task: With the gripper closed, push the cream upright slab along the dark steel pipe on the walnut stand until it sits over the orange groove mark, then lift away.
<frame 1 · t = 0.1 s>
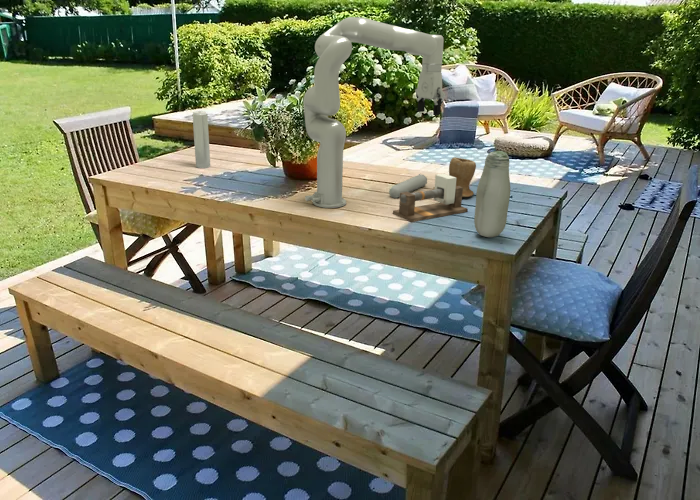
hand: (428, 113, 242), 31 cm above the table, tool pointing down, fingers open, 9 cm apart
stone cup: (455, 194, 247), on the table
grey upright post: (203, 167, 281), on the table
cream upright slab: (444, 188, 223), point 8 cm above the table, slide at 0.0 cm
glass bottle: (488, 236, 201), on the table
pipe stand: (430, 212, 223), on the table
tube: (407, 192, 249), on the table
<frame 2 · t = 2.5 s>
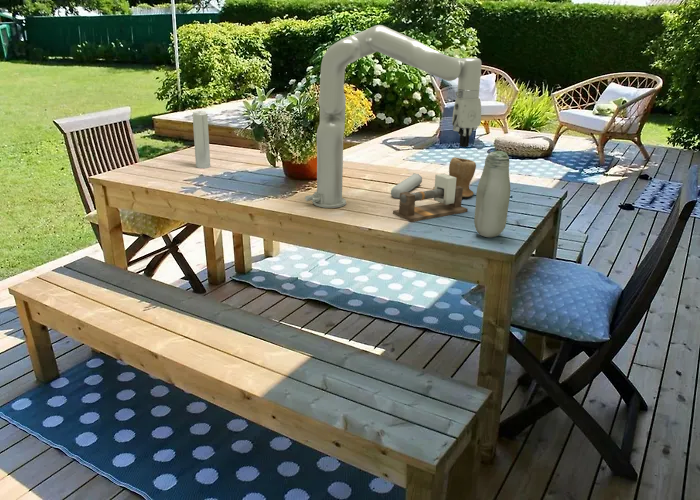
hand: (463, 146, 221), 23 cm above the table, tool pointing down, fingers closed
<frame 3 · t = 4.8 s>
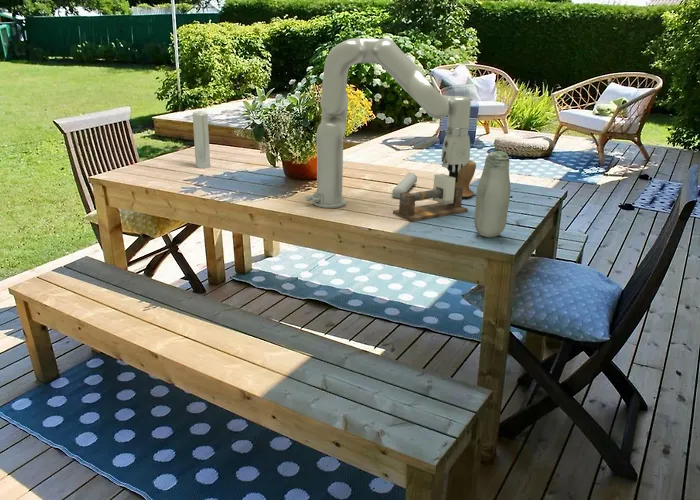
hand: (452, 181, 224), 10 cm above the table, tool pointing down, fingers closed
cream upright slab: (443, 189, 223), point 8 cm above the table, slide at 0.5 cm, touching gripper
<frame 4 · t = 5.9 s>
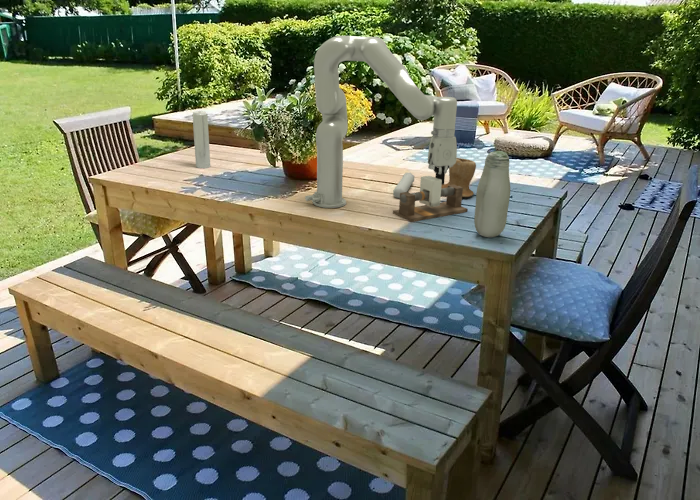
hand: (439, 183, 221), 10 cm above the table, tool pointing down, fingers closed
cream upright slab: (430, 191, 219), point 8 cm above the table, slide at 6.8 cm, touching gripper
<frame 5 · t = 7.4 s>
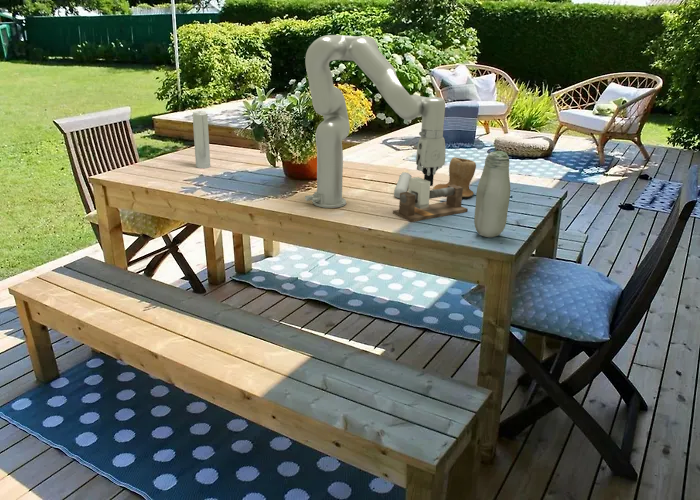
hand: (428, 185, 218), 11 cm above the table, tool pointing down, fingers closed
cream upright slab: (418, 192, 217), point 8 cm above the table, slide at 12.0 cm, touching gripper
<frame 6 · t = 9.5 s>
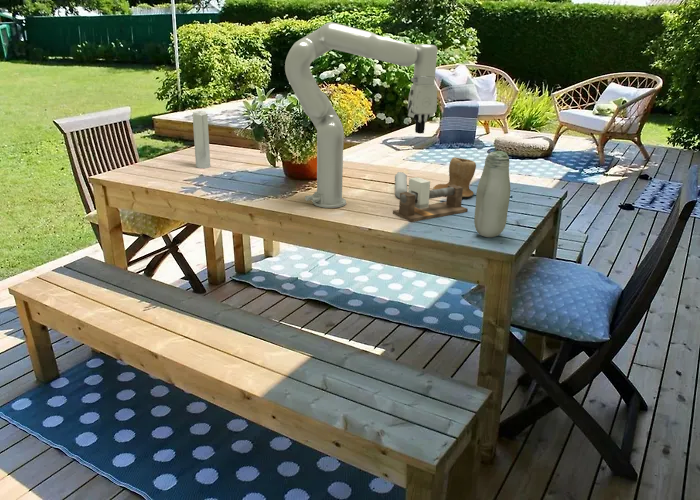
hand: (419, 132, 222), 27 cm above the table, tool pointing down, fingers closed
cream upright slab: (418, 192, 217), point 8 cm above the table, slide at 12.1 cm
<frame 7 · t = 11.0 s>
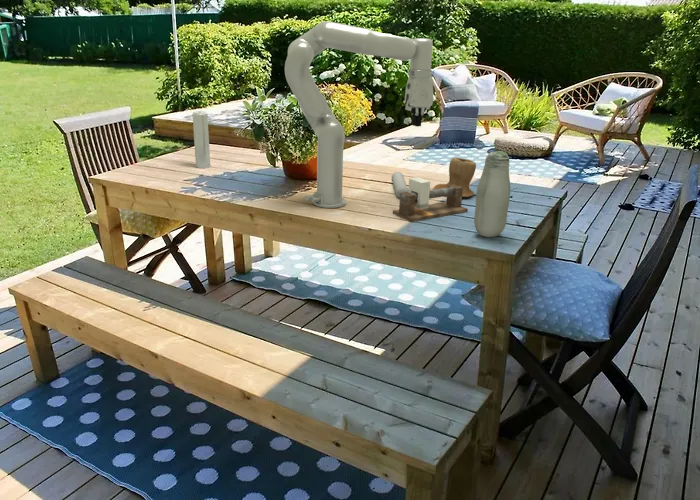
hand: (416, 125, 226), 29 cm above the table, tool pointing down, fingers closed
at the end: cream upright slab slide at 12.1 cm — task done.
